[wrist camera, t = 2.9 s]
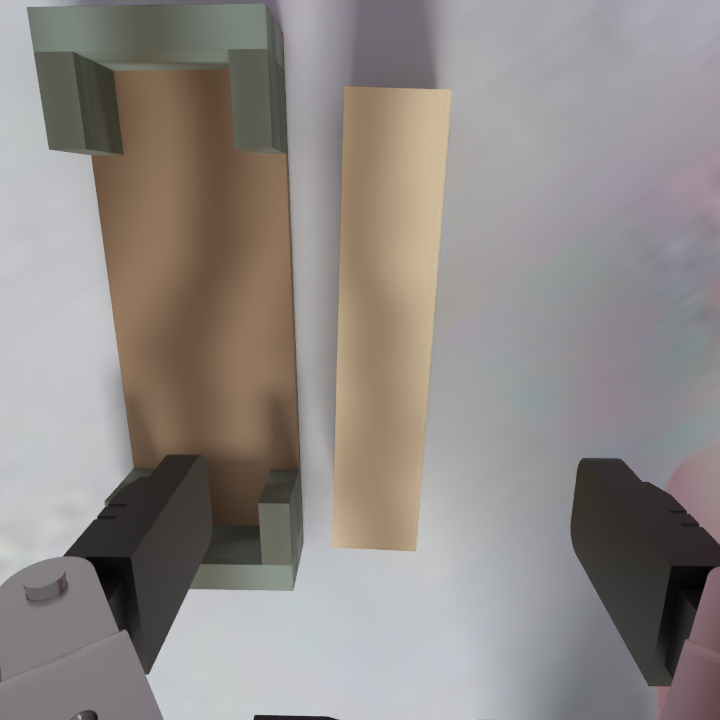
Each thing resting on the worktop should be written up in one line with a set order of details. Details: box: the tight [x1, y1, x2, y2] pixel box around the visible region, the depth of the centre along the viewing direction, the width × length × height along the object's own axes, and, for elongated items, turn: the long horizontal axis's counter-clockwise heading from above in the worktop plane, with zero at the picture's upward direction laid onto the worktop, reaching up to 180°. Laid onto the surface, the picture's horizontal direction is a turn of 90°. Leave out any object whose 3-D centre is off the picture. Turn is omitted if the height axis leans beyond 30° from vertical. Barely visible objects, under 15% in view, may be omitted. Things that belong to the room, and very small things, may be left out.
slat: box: [332, 86, 452, 551], centre depth 26 cm, size 4×20×5 cm, turn 178°
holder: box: [27, 3, 303, 591], centre depth 26 cm, size 9×26×4 cm, turn 0°
